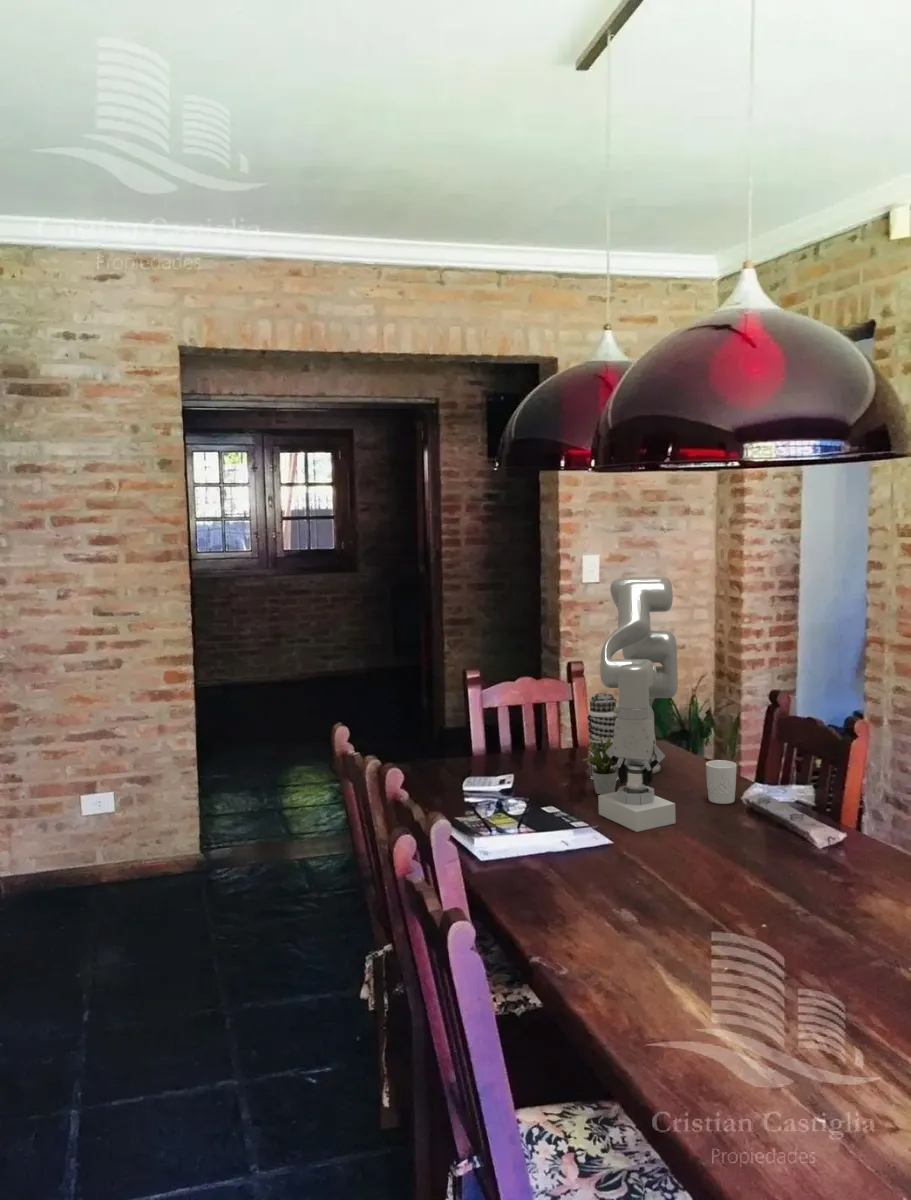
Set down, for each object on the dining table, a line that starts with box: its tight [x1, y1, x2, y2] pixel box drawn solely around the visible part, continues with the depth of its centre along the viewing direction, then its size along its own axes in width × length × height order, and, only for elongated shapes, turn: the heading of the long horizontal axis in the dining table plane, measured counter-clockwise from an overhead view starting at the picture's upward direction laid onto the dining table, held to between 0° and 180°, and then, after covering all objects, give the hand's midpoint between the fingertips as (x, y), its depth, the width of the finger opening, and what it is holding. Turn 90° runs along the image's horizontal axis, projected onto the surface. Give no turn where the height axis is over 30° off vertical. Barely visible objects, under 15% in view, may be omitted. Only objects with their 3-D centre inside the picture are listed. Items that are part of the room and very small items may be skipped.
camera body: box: [597, 784, 677, 832], centre depth 235 cm, size 16×12×8 cm
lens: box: [626, 762, 647, 794], centre depth 234 cm, size 5×5×9 cm
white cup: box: [705, 759, 737, 805], centre depth 247 cm, size 8×8×10 cm
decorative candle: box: [586, 692, 620, 782], centre depth 271 cm, size 9×9×25 cm
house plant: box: [583, 736, 617, 795], centre depth 256 cm, size 14×14×16 cm
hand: (635, 782), depth 234 cm, fingers open, 5 cm apart
